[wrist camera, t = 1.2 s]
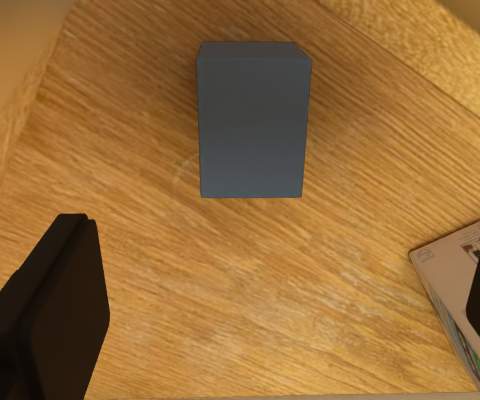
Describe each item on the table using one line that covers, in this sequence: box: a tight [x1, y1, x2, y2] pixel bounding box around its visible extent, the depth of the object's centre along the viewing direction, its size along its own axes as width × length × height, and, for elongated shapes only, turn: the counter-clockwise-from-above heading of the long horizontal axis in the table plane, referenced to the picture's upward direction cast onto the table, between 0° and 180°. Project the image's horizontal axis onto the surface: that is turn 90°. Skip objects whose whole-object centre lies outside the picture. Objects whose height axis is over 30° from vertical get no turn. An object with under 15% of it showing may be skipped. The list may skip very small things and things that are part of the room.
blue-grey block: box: [196, 42, 312, 198], centre depth 21 cm, size 6×4×5 cm
